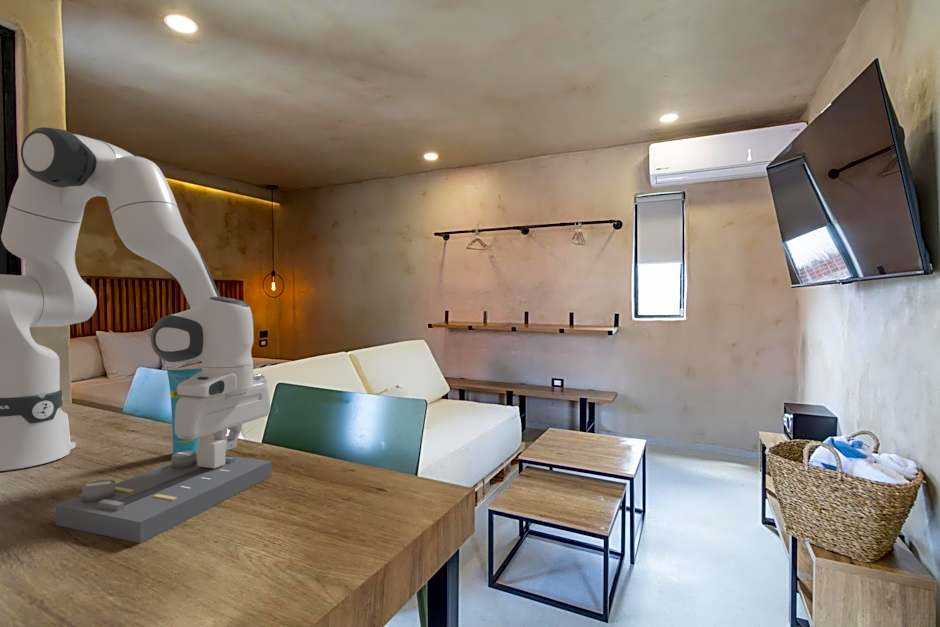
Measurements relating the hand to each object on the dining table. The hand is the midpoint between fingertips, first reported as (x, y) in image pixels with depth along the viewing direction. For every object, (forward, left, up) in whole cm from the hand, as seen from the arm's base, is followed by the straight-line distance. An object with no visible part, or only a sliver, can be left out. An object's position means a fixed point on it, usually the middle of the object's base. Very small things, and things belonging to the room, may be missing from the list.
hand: (227, 449), depth 87 cm
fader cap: (0, -4, -2) cm, 4 cm away
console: (0, -11, -5) cm, 12 cm away
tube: (-18, +7, -5) cm, 20 cm away
